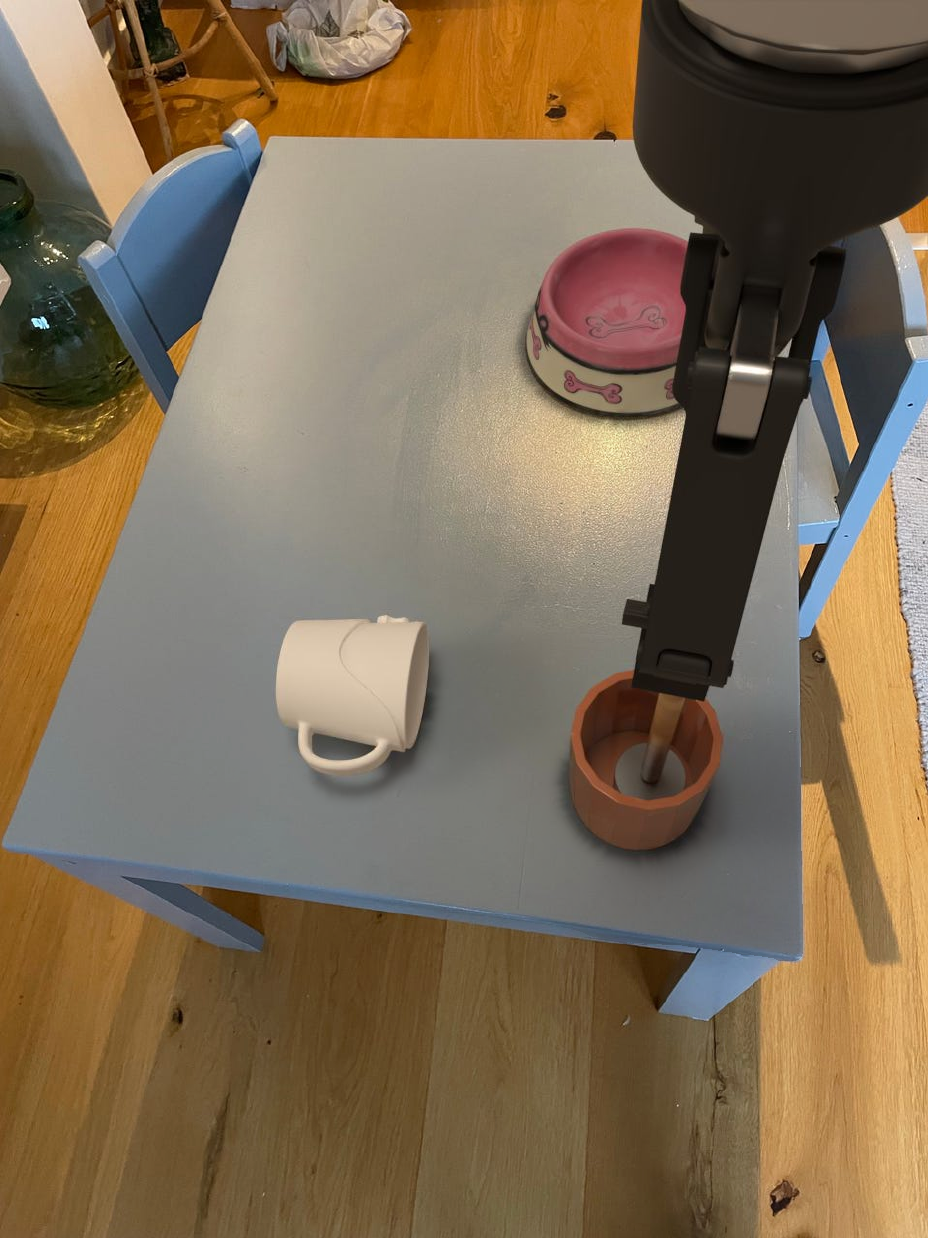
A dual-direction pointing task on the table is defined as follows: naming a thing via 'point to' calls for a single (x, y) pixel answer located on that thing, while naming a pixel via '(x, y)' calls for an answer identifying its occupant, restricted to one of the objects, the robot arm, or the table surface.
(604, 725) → the crock
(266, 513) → the table surface
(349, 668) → the mug
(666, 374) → the dog bowl
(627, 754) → the toilet plunger
